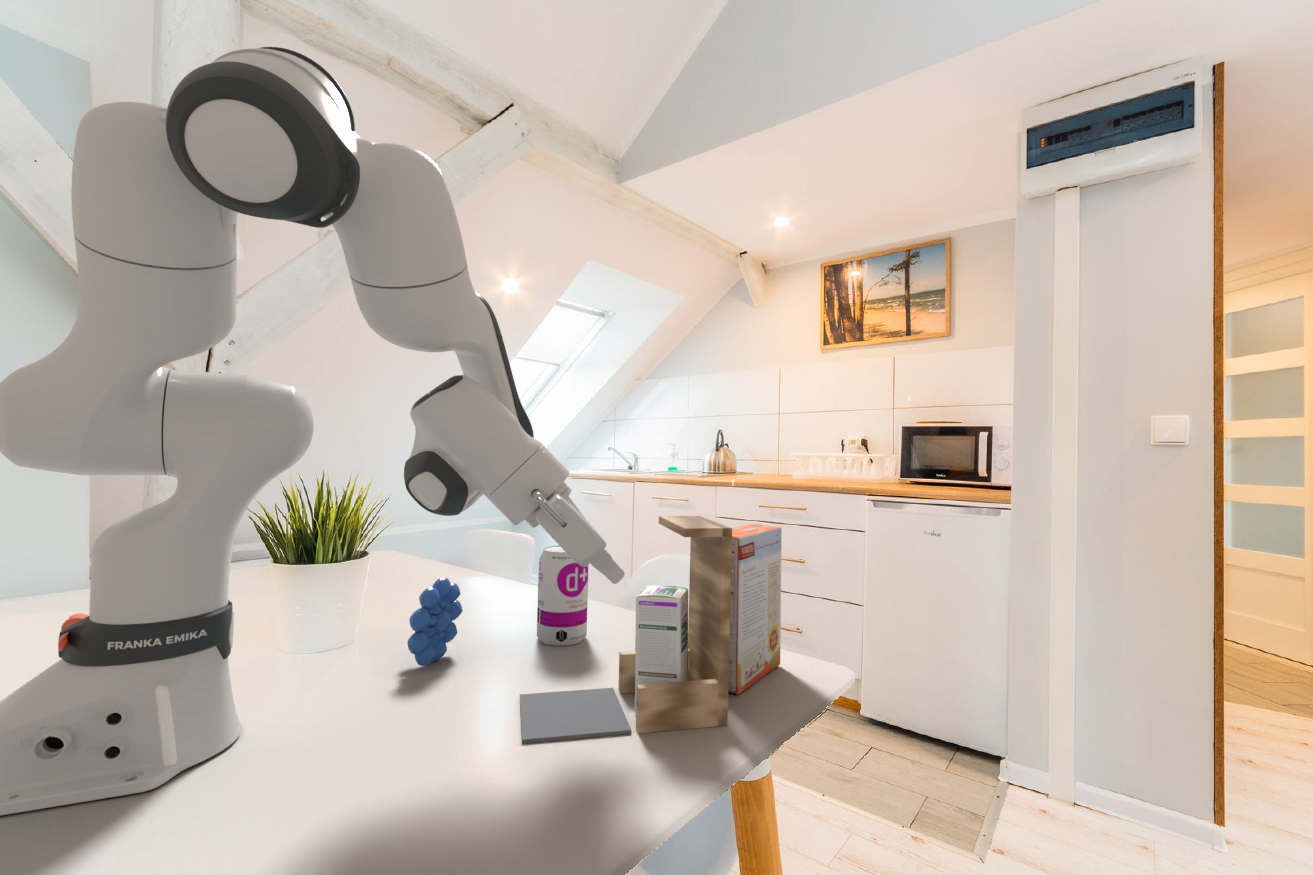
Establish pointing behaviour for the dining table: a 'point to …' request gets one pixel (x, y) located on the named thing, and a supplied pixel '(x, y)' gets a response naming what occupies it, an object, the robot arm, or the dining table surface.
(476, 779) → the dining table surface
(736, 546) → the cracker box
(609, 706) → the mat
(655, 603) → the syrup box
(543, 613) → the supplement can
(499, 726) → the dining table surface
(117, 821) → the dining table surface
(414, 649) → the grapes
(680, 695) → the shelf slot
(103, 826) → the dining table surface
